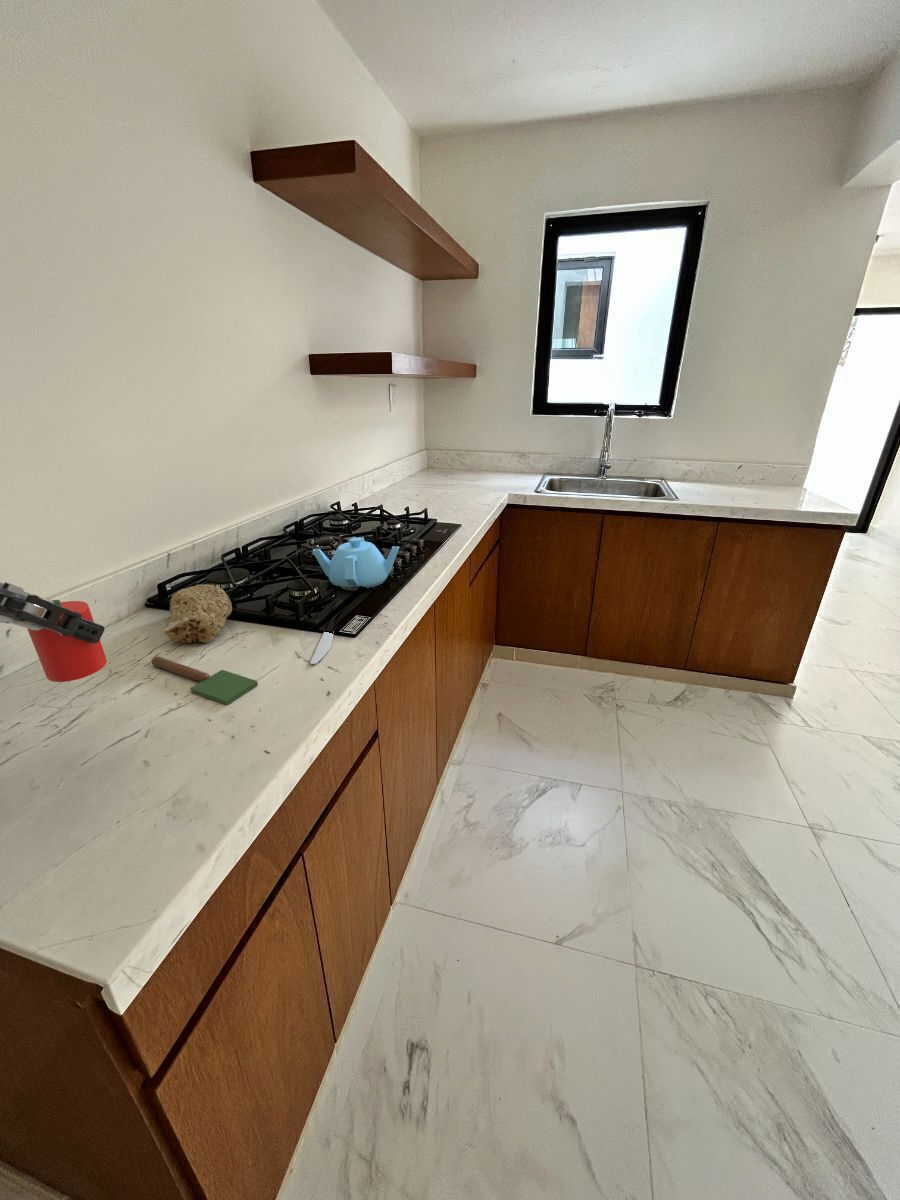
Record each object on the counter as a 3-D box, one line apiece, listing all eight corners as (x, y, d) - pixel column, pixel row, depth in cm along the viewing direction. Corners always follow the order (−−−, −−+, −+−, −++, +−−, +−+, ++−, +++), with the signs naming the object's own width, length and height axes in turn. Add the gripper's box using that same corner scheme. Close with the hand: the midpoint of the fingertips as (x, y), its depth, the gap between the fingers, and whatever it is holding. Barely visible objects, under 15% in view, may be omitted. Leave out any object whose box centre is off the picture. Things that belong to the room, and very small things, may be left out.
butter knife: (350, 598, 108) (336, 597, 108) (323, 663, 83) (305, 663, 83) (350, 600, 108) (336, 600, 108) (323, 666, 84) (305, 666, 84)
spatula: (138, 672, 83) (135, 664, 82) (171, 656, 88) (168, 648, 87) (226, 705, 74) (224, 696, 73) (258, 685, 79) (256, 676, 78)
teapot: (313, 583, 119) (307, 540, 114) (364, 567, 128) (360, 526, 124) (351, 600, 109) (346, 553, 104) (403, 581, 119) (400, 537, 114)
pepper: (36, 674, 59) (8, 606, 55) (89, 652, 64) (67, 588, 60) (64, 687, 56) (36, 616, 53) (117, 662, 61) (96, 596, 57)
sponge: (229, 648, 92) (246, 588, 109) (210, 616, 88) (231, 558, 104) (159, 665, 92) (187, 603, 108) (136, 634, 87) (168, 573, 103)
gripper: (-24, 541, 43) (137, 610, 58) (-109, 526, 49) (58, 594, 63) (-75, 620, 41) (106, 672, 56) (-159, 596, 46) (27, 649, 61)
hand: (80, 630), depth 60 cm, fingers closed on pepper, 6 cm apart
